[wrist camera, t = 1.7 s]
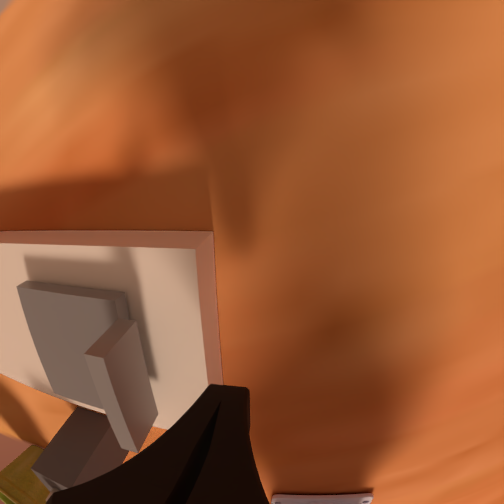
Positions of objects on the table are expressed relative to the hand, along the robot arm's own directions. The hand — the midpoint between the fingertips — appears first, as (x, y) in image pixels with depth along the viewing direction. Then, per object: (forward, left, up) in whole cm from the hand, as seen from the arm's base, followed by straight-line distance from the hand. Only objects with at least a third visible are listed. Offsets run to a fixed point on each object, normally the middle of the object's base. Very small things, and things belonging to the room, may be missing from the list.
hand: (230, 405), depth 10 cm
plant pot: (-22, +23, -5) cm, 33 cm away
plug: (-11, +11, -5) cm, 16 cm away
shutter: (0, +7, -2) cm, 7 cm away
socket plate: (0, +10, -5) cm, 12 cm away
